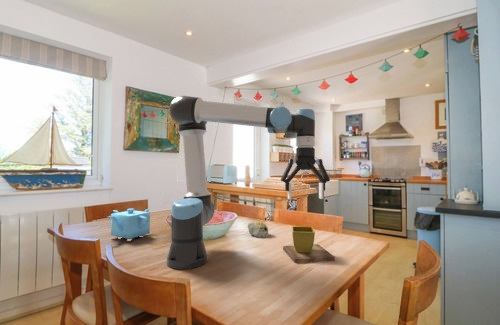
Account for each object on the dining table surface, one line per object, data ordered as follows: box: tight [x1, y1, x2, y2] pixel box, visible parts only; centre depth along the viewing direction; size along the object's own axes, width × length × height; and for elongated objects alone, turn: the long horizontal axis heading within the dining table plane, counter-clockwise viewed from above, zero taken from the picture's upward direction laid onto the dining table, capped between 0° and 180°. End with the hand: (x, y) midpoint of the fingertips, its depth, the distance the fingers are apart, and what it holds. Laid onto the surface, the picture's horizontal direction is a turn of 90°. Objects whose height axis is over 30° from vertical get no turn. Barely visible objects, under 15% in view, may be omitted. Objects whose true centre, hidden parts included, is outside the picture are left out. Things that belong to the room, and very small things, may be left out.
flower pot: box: [291, 225, 316, 253], centre depth 109 cm, size 9×9×9 cm
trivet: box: [282, 243, 336, 264], centre depth 109 cm, size 16×16×2 cm
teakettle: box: [107, 208, 151, 239], centre depth 135 cm, size 19×19×15 cm
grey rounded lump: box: [247, 221, 269, 239], centre depth 139 cm, size 10×10×10 cm
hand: (305, 198), depth 109 cm, fingers open, 13 cm apart
